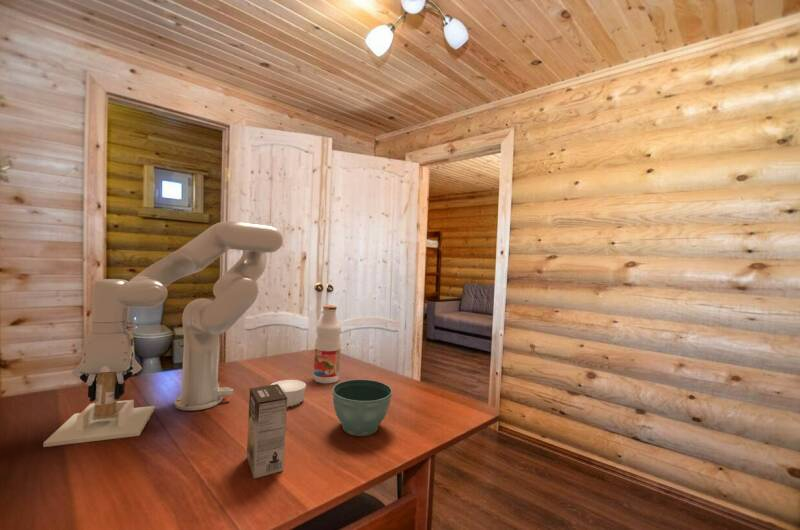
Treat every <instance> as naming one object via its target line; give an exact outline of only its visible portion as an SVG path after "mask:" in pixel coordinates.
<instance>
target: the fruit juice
mask: <svg viewBox="0 0 800 530" xmlns="http://www.w3.org/2000/svg"><path fill="white" fill-rule="evenodd" d="M337 309H338V308H337V305H331V304H330V305H329V304H326V305H323V314H322V318H321V319H320V321H319V323H318V324H317V325H316V336H317V337H316V340H315V344H314V345H315V346H314V362H313V363H314V365H313V380H314V382H316V383H318V382H319V384H333V382H334V383H336V382H338V380H340V379H339V378H340V369H341V368H340V366H341V365H340V363H341V349H342V348H341V346H342V343H341V338H340V336H341V332H342V326H341V324H340V322H339V321H338V318H337V314H336V313H337Z"/></svg>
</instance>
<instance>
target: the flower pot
mask: <svg viewBox="0 0 800 530" xmlns="http://www.w3.org/2000/svg"><path fill="white" fill-rule="evenodd" d="M392 395H393V389H392V388H391V386H390V385H388V384H386V383H384V382H380V381H377V380H373V379H372V380H371V379H349V380H343V381H341V382H337V383H336V384H334V386H333V387H332V397H333V400H332V401H333V408H334V411H335V415H336V418H337V419H338V421H339V422H340V424H341V425H342V429H343V431H344V432H345V433H346V434H349V435H351V436H357V437H364V436H369V435H373V434H375V433H376V432H377V431H378V428H379V425H380V424H381V423H382V422H383V420H384V419H385V417H386V415H387V412H388V411H389V408H390V404H391V398H392Z"/></svg>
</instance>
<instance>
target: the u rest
mask: <svg viewBox="0 0 800 530" xmlns="http://www.w3.org/2000/svg"><path fill="white" fill-rule="evenodd" d="M134 401H135V399H128V400H126V399H125V400H118V401H117V403H116V410H117V412H116V414H114V415H112V416H109V417H106V418H96V417H95V416H94V414H95V402H92V403H91V402H90V403H89V405H87V406H86V407H85V408H84V410H82V411H81V412H77V413H76V412H75V413H73V415H71V416H70V417H69V418H68V419H67V420H66V421H65V422H64V423H62V424H61V426H59V428H58V429H56V430H55V432H53V433H52V434H51V435H50V436H49V437H48V438H47V439H46V440H45V441H43V444H42V445H43V446H42V447H43V448H46V447H54V446H55V447H56V446H63V445H71V444H79V443H88V442H96V441H97V442H98V441H105V440H114V439H115V440H116V439H123V438H130V437H131V438H132V437H138V436H140V435H141V433H142V432H143V430H144V428H145V427H146V424H147V423H148V422H149V420H150V418H151V417H152V415H153V413H154V411H155V410H154V409H156V408H155V407H156V406H155V405H151V406H150V405H149V406H141V407H134V405H135V402H134ZM151 414H152V415H151ZM150 416H151V417H150ZM147 421H148V422H147Z"/></svg>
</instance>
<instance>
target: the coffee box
mask: <svg viewBox="0 0 800 530" xmlns="http://www.w3.org/2000/svg"><path fill="white" fill-rule="evenodd" d="M248 400H249V401H248V421H247V422H248V423H247V446H246V459H247V462H248V465H249V468H250V471H251V474H252V477H253V479H258V478H262V477H265V476H269V475H272V474H273V475H274V474H276V473H277V474H278V473H280V472H283V471H284V467H285V465H284V463H285V445H286V430H287V429H286V427H287V410H288V407H287V396H286V395H285V394H284V392H283V391H282V389H281V388H280V386H279V385H278V384H275V385H271V384H270V385H269V384H268V385H263V386H257V387H250V388H249V399H248Z"/></svg>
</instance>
